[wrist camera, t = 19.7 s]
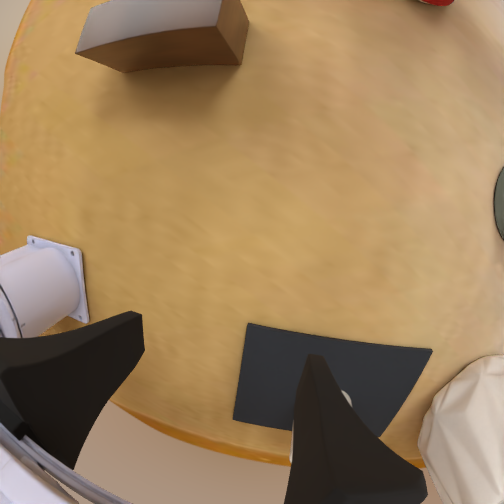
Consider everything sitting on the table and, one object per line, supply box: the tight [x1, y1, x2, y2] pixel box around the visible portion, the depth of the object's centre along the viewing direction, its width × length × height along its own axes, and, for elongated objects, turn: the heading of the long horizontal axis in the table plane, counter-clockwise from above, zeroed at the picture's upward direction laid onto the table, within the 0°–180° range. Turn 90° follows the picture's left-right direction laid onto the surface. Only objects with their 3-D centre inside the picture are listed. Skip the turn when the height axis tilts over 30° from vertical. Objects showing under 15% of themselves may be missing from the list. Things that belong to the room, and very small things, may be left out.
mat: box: [233, 323, 433, 437], centre depth 21 cm, size 16×12×1 cm
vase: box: [418, 354, 504, 504], centre depth 12 cm, size 14×14×15 cm
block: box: [75, 0, 249, 73], centre depth 13 cm, size 10×4×6 cm, turn 82°
